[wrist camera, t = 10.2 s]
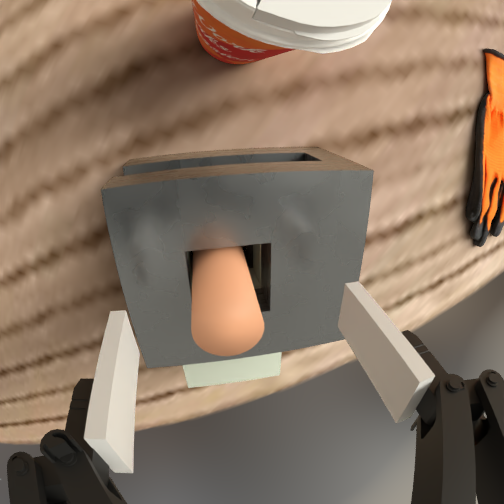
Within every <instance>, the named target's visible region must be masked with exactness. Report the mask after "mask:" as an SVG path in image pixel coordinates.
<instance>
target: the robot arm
mask: <svg viewBox="0 0 504 504" xmlns="http://www.w3.org/2000/svg"><path fill="white" fill-rule="evenodd" d="M338 328H339V330H340V331H341V333H342V334H343V336H344V338H345V339H346V341H347V342H348V344H349V346H350V347H351V349H352V351H353V352H354V354H355V355H356V357H357V359H358V360H359V362H360V364H361V365H362V367H363V368H364V370H365V372H366V373H367V375H368V377H369V378H370V380H371V382H372V383H373V385H374V387H375V388H376V390H377V392H378V393H379V395H380V397H381V398H382V400H383V402H384V403H385V405H386V407H387V409H388V410H389V412H390V414H391V415H392V417H393V419H394V420H395V422H396V423H398V422H401V421H403V420H406V419H408V418H410V417H411V416H412V414H413V413H414V411H415V410H417V412H418V413H419V416H418V418H417V419H416V421H415V422H414V423H413V425H412V426H411V431H413V430H414V428H415V427H416V425H417V429H416V431H417V434H416V435H417V436H416V457H415V471H414V482H413V492H412V501H411V504H476V502H475V501H476V495H477V500H478V504H504V380H503V378H502V377H501V375H500V374H499V373H497V372H496V371H494V370H485V371H483V372H482V373H481V375H480V376H479V378H478V379H471V380H463V379H462V378H461V377H460V376H458V375H455V374H448V373H446V371H445V370H444V369H443V367H442V366H441V365H440V364H439V362H438V361H437V360H436V359H435V357H434V356H433V355H432V354H431V352H429V351H428V349H427V348H426V346H424V345H423V343H422V341H421V340H420V339H419V338H418V337H417V336H416V335H414V334H413V333H411V332H410V331H408V330H406V331H403V332H401V331H400V330H399V329H398V328H397V326H396V325H395V324H394V323H393V322H392V320H391V319H390V318H389V317H388V316H387V314H386V313H385V312H384V311H383V309H382V308H381V307H380V306H379V305H378V303H377V302H376V301H375V300H374V299H373V298H372V296H371V295H370V294H369V293H368V292H367V291H366V289H365V288H364V287H363V286H362V285H361V284H360V282H359V281H357V282H351V283H345V287H344V293H343V299H342V305H341V310H340V316H339V321H338ZM139 357H140V352H139V349H138V346H137V344H136V341H135V338H134V335H133V331H132V328H131V325H130V322H129V319H128V315H127V312H126V310H122V311H110V315H109V318H108V322H107V326H106V330H105V334H104V338H103V342H102V346H101V350H100V354H99V358H98V363H97V367H96V372H95V377H94V379H80V381H79V382H78V383H77V385H76V386H75V388H74V391H73V395H72V401H71V404H70V410H69V413H68V418H67V423H66V428H65V431H64V430H59V429H56V430H51V431H50V432H48V433H47V434H45V435H44V437H43V438H42V440H41V444H40V450H41V453H42V454H43V455H44V456H40V457H35V458H32V457H31V456H30V455H29V454H27V453H25V452H17V453H14V454H13V455H12V456H11V457H10V459H9V460H8V464H7V473H8V474H7V475H8V487H9V496H10V504H127V503H126V501H125V500H124V498H123V497H122V495H121V494H120V492H119V490H118V489H117V487H116V486H115V484H114V482H113V481H112V479H111V478H110V477H109V467H110V468H111V469H112V470H113V471H114V472H118V473H133V452H134V423H135V405H136V390H137V378H138V367H139ZM484 412H485V413H486V415H487V418H485V417H484Z"/></svg>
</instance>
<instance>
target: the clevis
mask: <svg viewBox="0 0 504 504" xmlns="http://www.w3.org/2000/svg"><path fill="white" fill-rule="evenodd" d="M373 171H374V170H371V169H369V168H367V167H365V166H362V165H360V164H358V163H355V162H353V161H351V160H348V159H346V158H344V157H341V156H339V155H336V154H334V153H331V152H329V151H326V150H324V149H321V148H319V147H280V148H251V149H232V150H217V151H204V152H192V153H182V154H172V155H163V156H155V157H147V158H139V159H132V160H129V161H128V162H127V163H126V164H125V165H124V166H123V172H124V176H118V177H112V178H111V179H110V180H109V181H108V182H107V183H106V185H105V186H104V187H103V188H102V189H101V193H102V199H103V205H104V210H105V216H106V221H107V226H108V231H109V235H110V240H111V245H112V249H113V253H114V258H115V262H116V266H117V270H118V274H119V278H120V282H121V286H122V289H123V293H124V297H125V300H126V304H127V307H128V311H129V314H130V317H131V321H132V324H133V327H134V330H135V333H136V337H137V340H138V343H139V346H140V349H141V352H142V355H143V357H144V360H145V363H146V366H147V368H155V367H168V366H179V365H189V364H199V363H208V362H216V361H224V360H232V359H239V358H246V357H253V356H259V355H266V354H272V353H278V352H284V351H289V350H295V349H300V348H305V347H310V346H315V345H320V344H325V343H330V342H334V341H339V340H343V339H345V338H344V336H343V334H342V333H341V331H340V330H339V328H338V321H339V316H340V310H341V305H342V299H343V293H344V287H345V283H351V282H357V281H359V276H360V270H361V264H362V258H363V252H364V246H365V239H366V232H367V225H368V217H369V209H370V201H371V192H372V182H373ZM253 244H261V288H258V289H254V290H255V293H256V297H257V300H258V304H259V307H260V310H261V314H262V317H263V321H264V332H263V335H262V337H261V339H260V340H259V342H258V343H257V344H256V345H255V346H254V347H252V348H251V349H250V350H248V351H246V352H244V353H241V354H238V355H233V356H218V355H214V354H211V353H208V352H206V351H204V350H203V349H201V348H200V347H199V346H198V345H197V344H196V343H195V341H194V339H193V337H192V332H191V310H192V285H191V278H190V270H189V263H188V255H187V251H189V256H190V264H191V272H192V270H193V257H191V253H190V251H195V250H205V249H214V248H224V247H233V246H243V245H246V251H243V252H244V255H245V259H246V262H247V266H248V268H253Z"/></svg>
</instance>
